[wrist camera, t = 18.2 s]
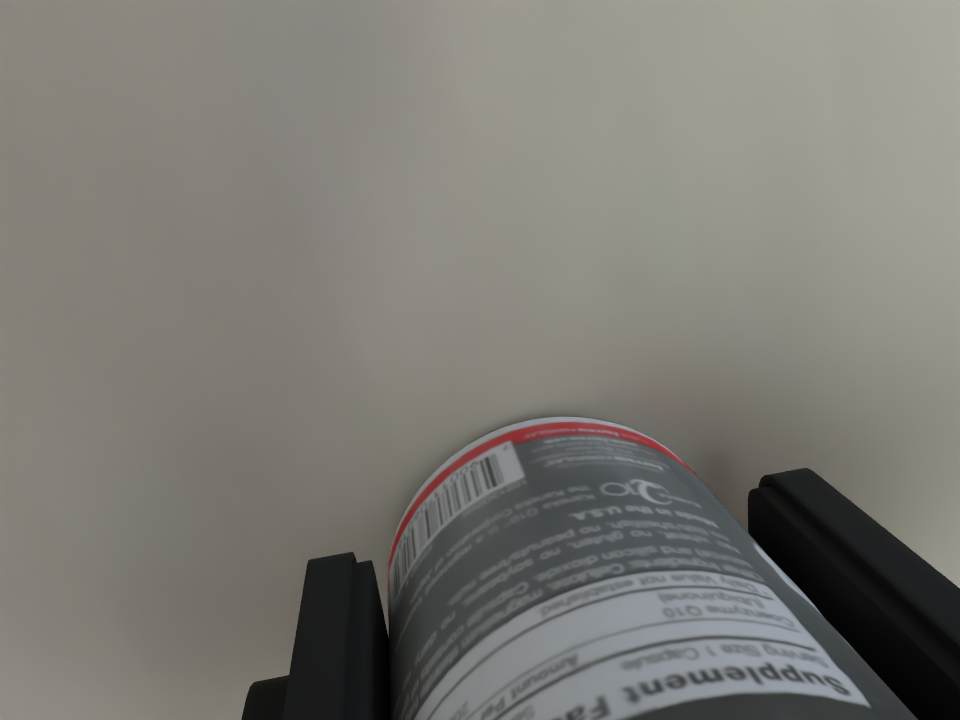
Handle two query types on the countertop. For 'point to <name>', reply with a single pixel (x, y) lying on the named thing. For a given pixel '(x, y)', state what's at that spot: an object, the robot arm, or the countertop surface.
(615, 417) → the countertop surface
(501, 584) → the pill bottle
